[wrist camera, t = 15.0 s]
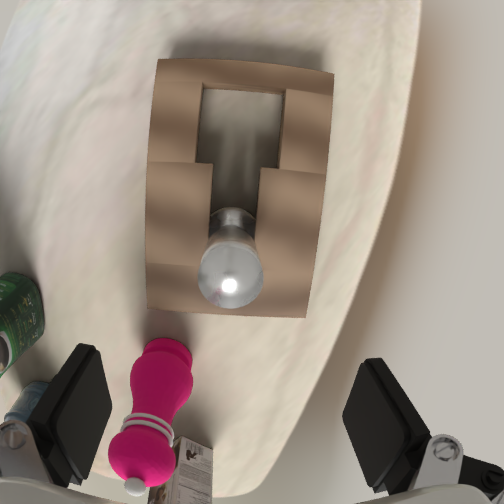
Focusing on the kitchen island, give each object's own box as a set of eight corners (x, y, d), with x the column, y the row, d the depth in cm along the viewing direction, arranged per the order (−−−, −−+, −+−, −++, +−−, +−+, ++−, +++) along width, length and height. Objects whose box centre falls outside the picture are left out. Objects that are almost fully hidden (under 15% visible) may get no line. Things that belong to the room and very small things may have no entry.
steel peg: (203, 204, 31) (186, 231, 19) (262, 209, 31) (280, 238, 20) (200, 261, 33) (185, 315, 21) (257, 264, 33) (270, 320, 22)
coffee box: (186, 469, 44) (180, 544, 28) (154, 455, 42) (140, 532, 27) (215, 449, 42) (214, 533, 26) (181, 434, 40) (170, 521, 25)
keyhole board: (166, 70, 26) (157, 59, 23) (322, 83, 28) (334, 73, 24) (156, 292, 33) (147, 308, 29) (298, 301, 35) (305, 317, 31)
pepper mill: (129, 346, 35) (73, 474, 16) (174, 324, 35) (135, 467, 16) (162, 385, 37) (132, 514, 18) (207, 367, 37) (196, 508, 18)
